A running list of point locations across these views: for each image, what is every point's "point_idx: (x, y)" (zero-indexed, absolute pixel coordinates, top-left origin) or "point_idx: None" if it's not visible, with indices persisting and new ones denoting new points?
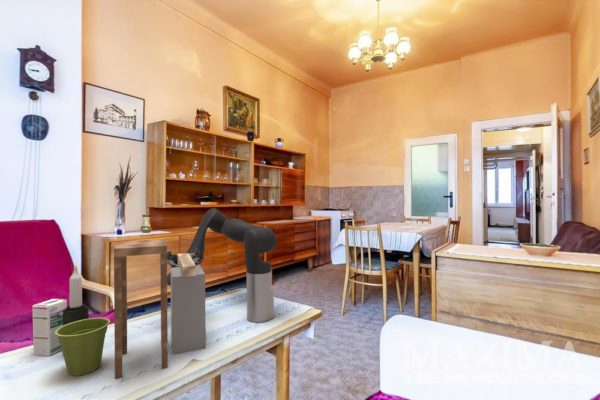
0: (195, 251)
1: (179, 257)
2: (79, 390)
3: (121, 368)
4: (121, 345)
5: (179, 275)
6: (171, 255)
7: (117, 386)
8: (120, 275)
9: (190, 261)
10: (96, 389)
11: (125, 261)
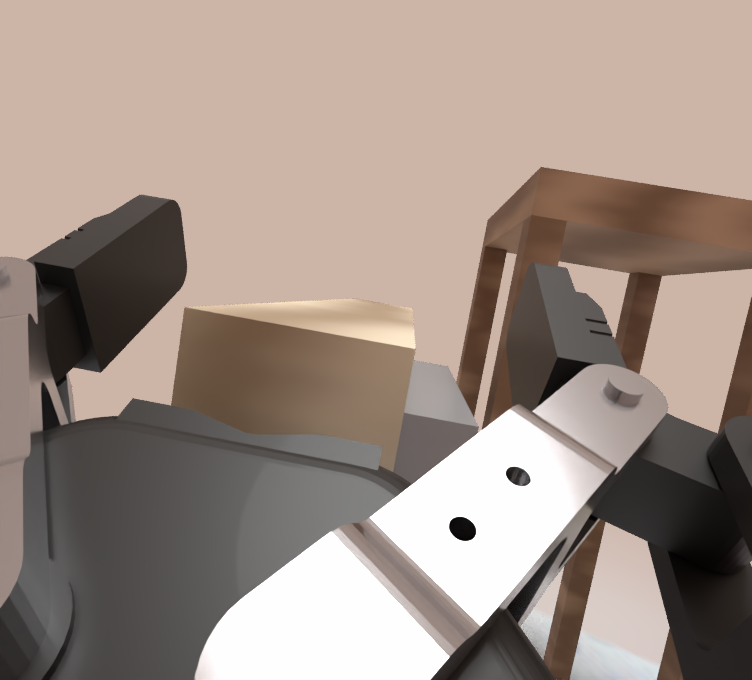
0: (166, 246)
1: (409, 321)
2: (643, 669)
3: (550, 634)
4: (565, 565)
5: (415, 363)
6: (508, 332)
7: (538, 632)
8: (617, 338)
9: (356, 302)
10: (593, 649)
11: (744, 338)
